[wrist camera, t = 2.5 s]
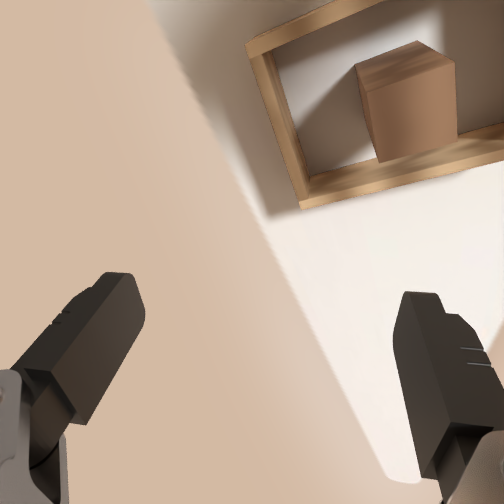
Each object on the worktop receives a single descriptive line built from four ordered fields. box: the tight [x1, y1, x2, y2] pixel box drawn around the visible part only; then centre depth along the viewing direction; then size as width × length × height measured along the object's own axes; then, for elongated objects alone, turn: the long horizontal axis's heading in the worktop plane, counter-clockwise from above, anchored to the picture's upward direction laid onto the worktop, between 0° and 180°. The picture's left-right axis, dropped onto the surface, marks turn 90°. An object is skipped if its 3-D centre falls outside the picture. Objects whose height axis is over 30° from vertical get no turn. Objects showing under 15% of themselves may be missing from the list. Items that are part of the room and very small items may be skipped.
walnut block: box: [355, 41, 458, 163], centre depth 26 cm, size 5×5×10 cm
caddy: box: [245, 0, 504, 210], centre depth 27 cm, size 20×15×5 cm
